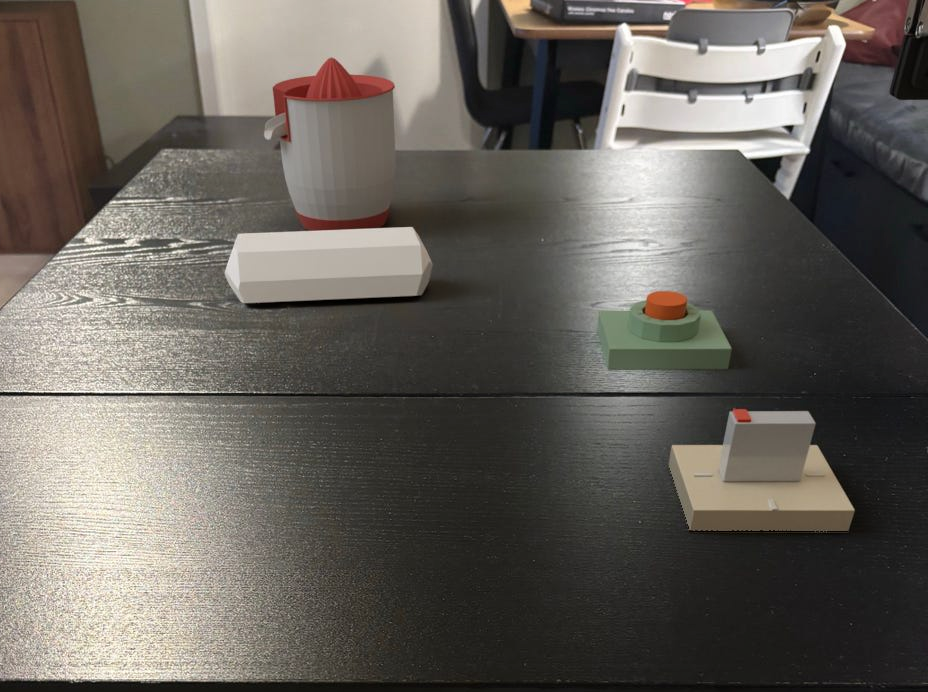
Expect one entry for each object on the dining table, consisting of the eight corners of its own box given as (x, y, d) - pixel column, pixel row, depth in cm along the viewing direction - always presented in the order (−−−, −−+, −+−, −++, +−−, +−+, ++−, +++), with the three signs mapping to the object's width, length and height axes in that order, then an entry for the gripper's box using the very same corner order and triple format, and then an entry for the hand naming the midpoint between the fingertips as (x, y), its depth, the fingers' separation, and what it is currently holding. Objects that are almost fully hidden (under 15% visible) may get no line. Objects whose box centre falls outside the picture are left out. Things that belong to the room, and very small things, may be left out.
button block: (708, 330, 101) (715, 293, 98) (728, 369, 93) (735, 330, 91) (596, 330, 101) (600, 293, 98) (607, 369, 93) (611, 330, 91)
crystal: (218, 281, 102) (436, 271, 104) (218, 229, 105) (431, 221, 106) (230, 325, 109) (434, 316, 111) (230, 275, 112) (430, 267, 113)
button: (681, 307, 96) (683, 290, 95) (688, 322, 93) (690, 305, 92) (642, 307, 96) (644, 290, 95) (647, 322, 93) (649, 305, 92)
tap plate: (811, 465, 79) (817, 442, 77) (848, 533, 71) (856, 509, 70) (668, 465, 79) (671, 442, 78) (689, 533, 71) (694, 508, 70)
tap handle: (793, 468, 74) (809, 407, 71) (800, 481, 73) (816, 420, 69) (717, 468, 74) (730, 408, 71) (723, 481, 73) (735, 420, 70)
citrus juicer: (263, 217, 133) (242, 53, 120) (379, 203, 138) (371, 43, 125) (291, 251, 122) (271, 74, 109) (416, 234, 127) (411, 62, 114)
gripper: (1124, -239, 54) (1004, 119, 66) (1010, -224, 65) (925, 78, 77) (992, -237, 54) (897, 120, 66) (901, -223, 65) (834, 79, 77)
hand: (912, 97), depth 71 cm, fingers closed
